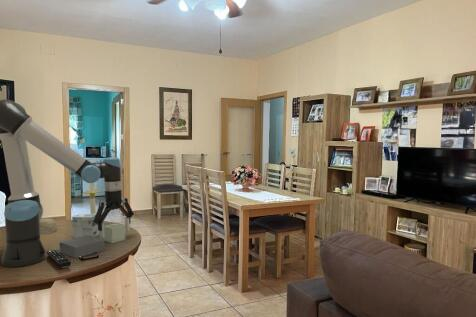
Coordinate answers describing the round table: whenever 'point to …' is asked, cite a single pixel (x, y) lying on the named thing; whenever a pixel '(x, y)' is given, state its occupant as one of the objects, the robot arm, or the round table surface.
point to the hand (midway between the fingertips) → (115, 233)
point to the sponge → (47, 226)
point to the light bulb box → (84, 225)
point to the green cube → (114, 233)
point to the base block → (82, 246)
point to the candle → (92, 197)
